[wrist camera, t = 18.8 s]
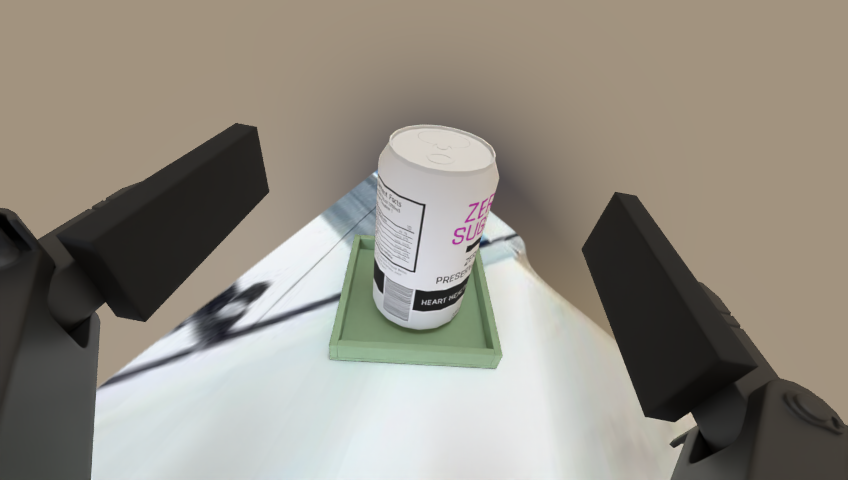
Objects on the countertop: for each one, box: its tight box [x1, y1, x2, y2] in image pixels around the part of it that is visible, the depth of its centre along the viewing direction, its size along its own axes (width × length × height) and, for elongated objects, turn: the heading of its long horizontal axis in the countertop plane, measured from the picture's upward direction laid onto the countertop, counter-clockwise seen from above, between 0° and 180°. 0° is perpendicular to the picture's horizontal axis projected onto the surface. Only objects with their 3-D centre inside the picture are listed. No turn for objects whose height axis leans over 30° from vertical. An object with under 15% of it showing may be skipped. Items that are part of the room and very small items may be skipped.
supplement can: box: [373, 125, 499, 330], centre depth 26 cm, size 8×8×15 cm
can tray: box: [329, 235, 502, 368], centre depth 31 cm, size 13×13×2 cm
